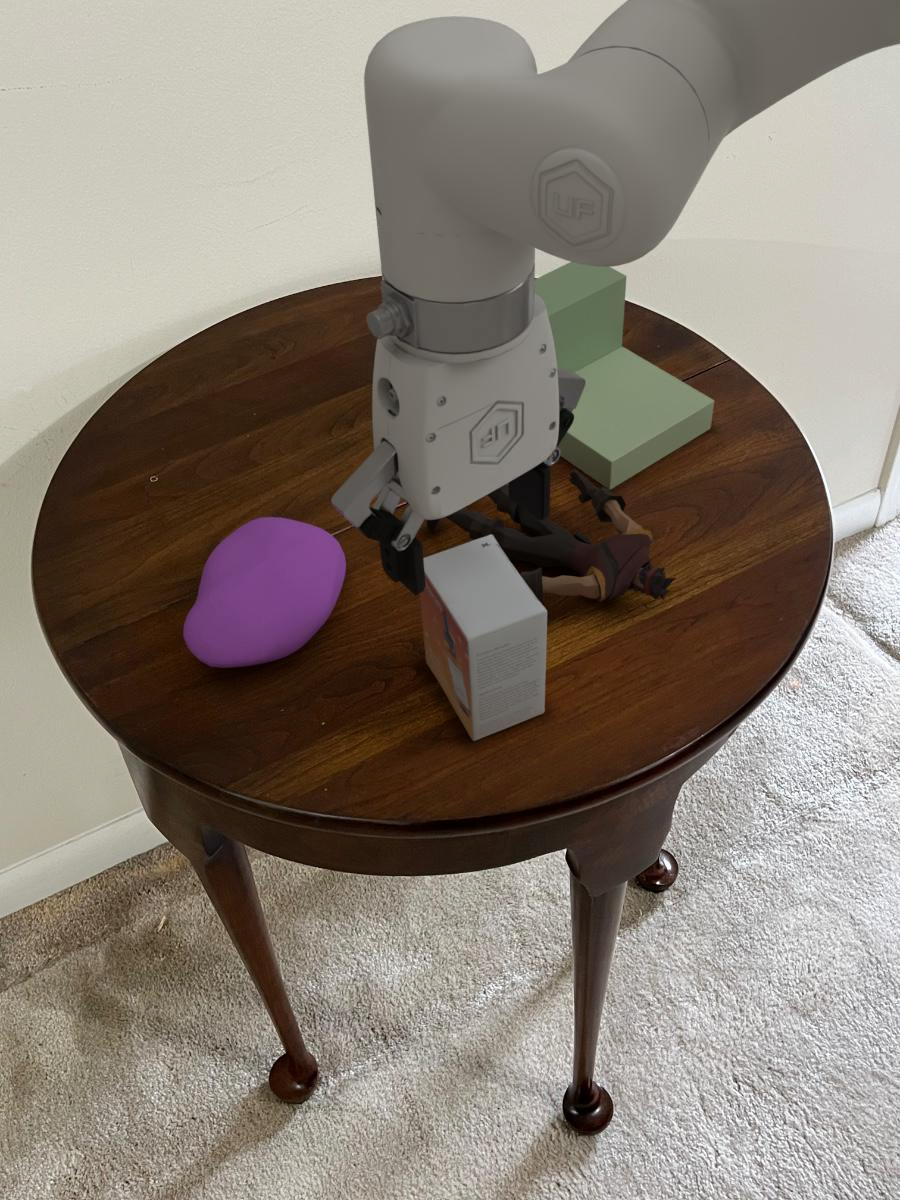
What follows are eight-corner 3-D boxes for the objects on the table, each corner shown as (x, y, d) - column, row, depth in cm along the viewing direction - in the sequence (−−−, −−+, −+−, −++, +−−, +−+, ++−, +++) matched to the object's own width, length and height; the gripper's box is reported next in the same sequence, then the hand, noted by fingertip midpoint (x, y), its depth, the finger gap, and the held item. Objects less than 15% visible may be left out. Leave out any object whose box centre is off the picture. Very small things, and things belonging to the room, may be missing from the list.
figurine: (393, 578, 87) (619, 677, 78) (385, 537, 84) (619, 635, 75) (502, 472, 95) (718, 550, 86) (498, 432, 92) (722, 507, 83)
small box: (425, 663, 80) (413, 557, 72) (495, 636, 81) (491, 530, 74) (472, 745, 75) (465, 640, 67) (547, 715, 76) (548, 609, 69)
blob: (245, 711, 78) (231, 664, 74) (142, 641, 83) (124, 594, 79) (381, 590, 85) (374, 543, 82) (279, 533, 90) (268, 486, 87)
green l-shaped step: (710, 428, 96) (725, 328, 89) (609, 490, 92) (616, 389, 84) (582, 351, 106) (586, 254, 98) (484, 403, 101) (480, 305, 93)
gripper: (361, 399, 50) (391, 648, 63) (636, 263, 57) (614, 511, 70) (272, 329, 55) (316, 576, 67) (538, 210, 62) (534, 453, 74)
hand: (468, 543), depth 68 cm, fingers open, 9 cm apart
